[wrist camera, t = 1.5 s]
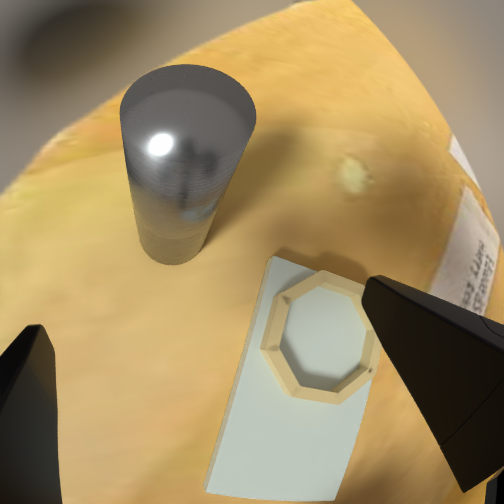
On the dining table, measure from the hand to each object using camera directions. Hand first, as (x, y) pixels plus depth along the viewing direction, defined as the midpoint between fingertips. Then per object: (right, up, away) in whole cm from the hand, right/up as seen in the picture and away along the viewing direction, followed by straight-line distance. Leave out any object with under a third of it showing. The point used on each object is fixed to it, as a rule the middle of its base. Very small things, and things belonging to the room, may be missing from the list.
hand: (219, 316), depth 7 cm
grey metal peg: (-5, +3, +13) cm, 14 cm away
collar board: (+4, -8, +12) cm, 16 cm away
